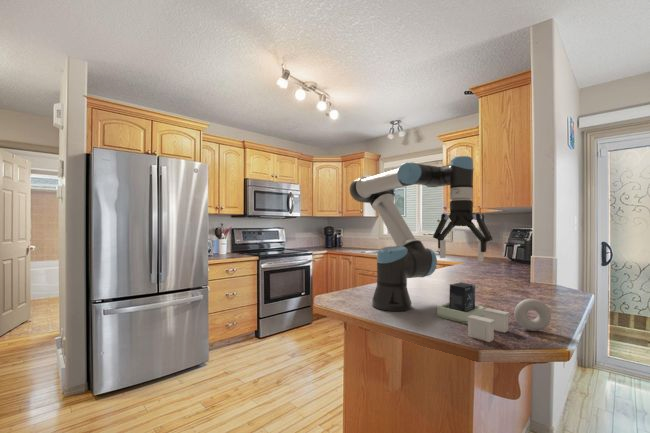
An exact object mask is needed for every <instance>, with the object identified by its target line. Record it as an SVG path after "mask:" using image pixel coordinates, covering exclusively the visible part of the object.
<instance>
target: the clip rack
mask: <svg viewBox="0 0 650 433" xmlns="http://www.w3.org/2000/svg"><path fill="white" fill-rule="evenodd" d="M483 312H484V317H480V316H475V315H470V316H468V317H467V319H468V324H467V337H470V338H473V339H477V340H481V341H483V342H488V343H490V342H492V341H493V340H494V339H495V338H494V336H495V335H494V333H495V332H494V331H496V332H499V333H507V332H508V331H509V315H510V312H509V311H504V310H500V309H499V310H498V309H494V308H489V307H485V309H484V310H483Z"/></svg>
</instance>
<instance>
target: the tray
mask: <svg viewBox="0 0 650 433" xmlns="http://www.w3.org/2000/svg"><path fill="white" fill-rule="evenodd" d="M484 309H486V307H485V306H481V305H477V304H475V309H474V310H472V311H469V312H462V311H458V310H453V309H449V302H447V303H444V304H441V305H438V306H437V307H436V317H437V318H442V319H446V320H449V321H453V320H454V321H453V322H457V321H458V322H457V323H461V322H462V323H461V324H464V325H468V319H467V317H468V316H470V315H475V316H480V317H484V312H483V310H484Z"/></svg>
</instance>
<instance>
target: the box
mask: <svg viewBox="0 0 650 433" xmlns="http://www.w3.org/2000/svg"><path fill="white" fill-rule="evenodd" d="M448 300H449V302H448V303H449V309H453V310H458V311H462V312H469V311H472V310H474V309H475V305H476V284H472V283H466V282H462V281H461V282H457V283H451V284H449V298H448Z"/></svg>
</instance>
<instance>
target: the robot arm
mask: <svg viewBox="0 0 650 433" xmlns="http://www.w3.org/2000/svg"><path fill="white" fill-rule="evenodd" d="M473 181H474V160H473V158H472V157H471V156H466V155H461V156H454V157H452V158H451V159H450V162H449V164H448V165H442V166H437V165H436V166H435V165H429V164H422V163H421V164H420V163H416V162H403V163H401V165H399V167H398V168H395V169H391V170H388V171H386V172H382V173H379V174H376V175H373V176H368V177H366V176H362V177H357V178H356V179H354V180H353V181H352V182H351V184H349V194H350V196H351V197H352V199H353V200H354V201H356V202H358V203H366V204H367V203H368V204H370V206H371V207H372V209H373V210H374V211H376V212H378V214H379V216H380V217H381V219H382V220H381V221H382V222H383V223H384V225H385V227H386V229H387V231H388V233H389V234H390V237H391V238H392V239H393V242H394V244H395V245H393V246H392V245H391V246H385V247H382V248H380V249H378V251H377V255H376V257H377V258H376V267H377V268H376V288H375V291H374V294H373V296H372V299H371V301H372V302H371V303H372V304H371V305H372V307H374V308H376V309H378V310H381V311H387V312H405V311H409V310H411V309H412V300H411V297H410V293H409V290H408V286H407V285H408V279H414V278H425V277H430V276H431V275H432V274H434V272H435V271H436V270H437V264H438V258H437V255H436V253H435V252H434V251H433V250H432V249H430V248H427V247H425V246H424V243H422V241H421V240H419V239H417V238H415V236H414V235H413V233H412V231H411V229H410V227H409V226H408V223H407V222H406V221H405V219H404V217H403V216H402V213H400V210H399V209H398V207H397V205H396V204H395V196H396V193H395V192H396V190H397V189H400V188H404V187H409V186H412V185H413V186H414V185H419V186H420V185H421V186H426V187H427V188H438V187H445V186H449V189H450V190H449V198H450V200H451V201H450V202H449V214H447V213H442V214H441V217H440V220H439V222H438V225H437V227H436V229H435V231H434V233H433V235H432V238H433V239H436V240H437V247H438V249H439V258H440V259H445V258H446V252H447V250H446V248H447V247H446V245H447V244H446V241H447V240H445V238H446V237H447V236H448V234H450V232H451V231H452V230H454V228H455V227H467V228H469V230H470V231H471V232H472V233H473V234H474V236H475V237H476V238H477V239H478V240H479V242H477V262H478V263H481V262H484V253H486V252H487V243H488V242H492V241H493V239H494V238H493V237H492V235H491V232H490V230H489V228H488V227H487V225H486V223H485V221H484V216H483V214H482V213H475V214H474V212H473V211H474V202H473V199H474V188H473V187H474V186H473V184H474V182H473ZM395 189H396V190H395ZM448 220H450V221H449V222H448ZM473 220H475V221H476V223H477V225H478V226H479V228H480V230H481V231H480V230H479V229H478V228H477V227H476V225H475V223H474V222H473ZM447 222H448V224H447ZM446 224H447V226H446ZM445 226H446V227H445Z"/></svg>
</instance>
